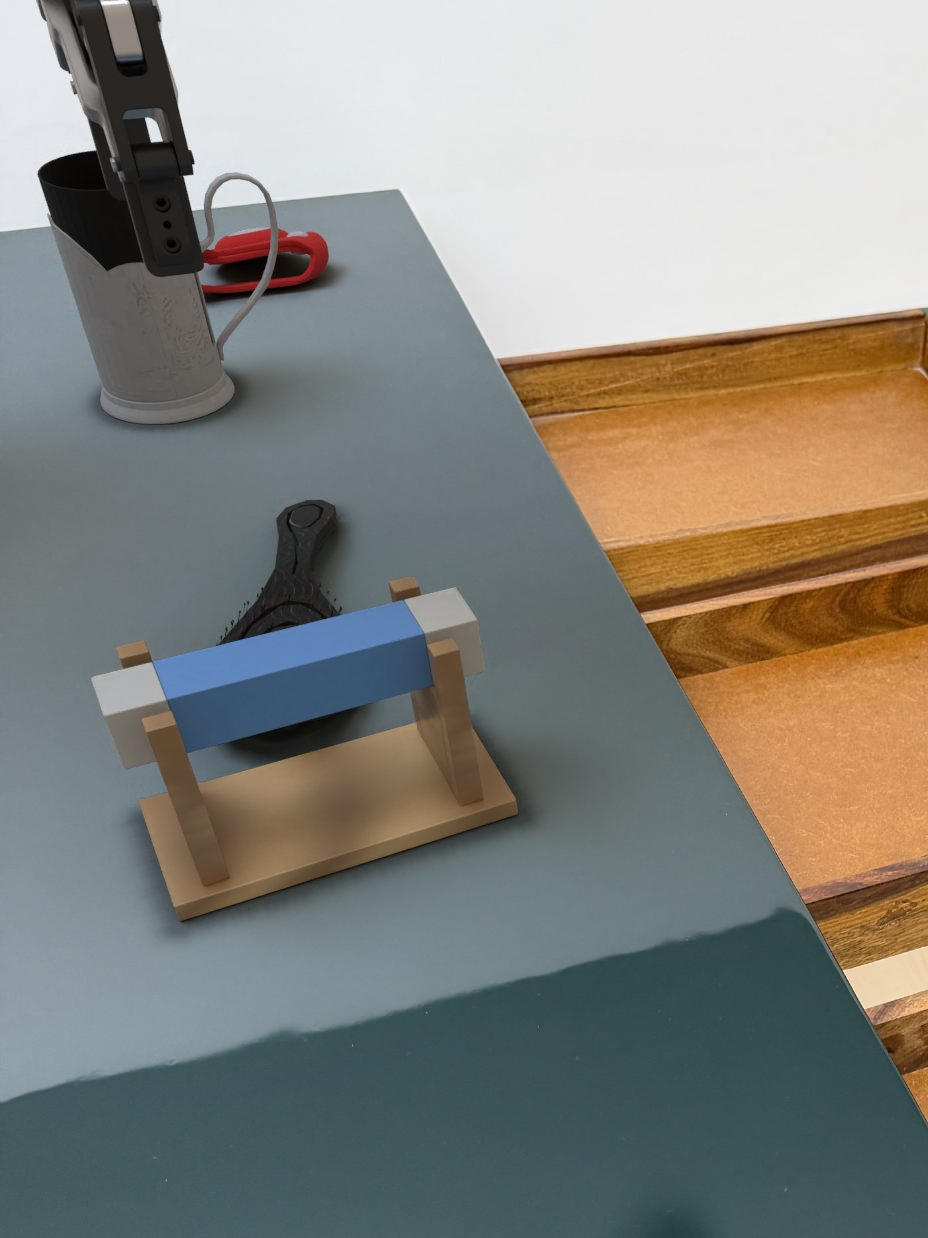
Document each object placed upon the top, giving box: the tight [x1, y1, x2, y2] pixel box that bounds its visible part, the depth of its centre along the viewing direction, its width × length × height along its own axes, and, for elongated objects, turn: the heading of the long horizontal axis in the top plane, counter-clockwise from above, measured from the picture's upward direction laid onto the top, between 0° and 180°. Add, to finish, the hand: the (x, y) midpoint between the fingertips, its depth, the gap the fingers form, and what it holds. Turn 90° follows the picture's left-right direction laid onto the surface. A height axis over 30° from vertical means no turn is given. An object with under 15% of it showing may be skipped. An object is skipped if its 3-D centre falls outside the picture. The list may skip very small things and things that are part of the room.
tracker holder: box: [199, 226, 330, 294], centre depth 112 cm, size 12×4×10 cm
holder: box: [115, 575, 519, 922], centre depth 65 cm, size 16×8×10 cm, turn 120°
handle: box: [90, 586, 486, 770], centre depth 63 cm, size 16×3×3 cm, turn 120°
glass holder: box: [37, 149, 279, 425], centre depth 95 cm, size 9×14×15 cm, turn 123°
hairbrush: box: [215, 499, 343, 727], centre depth 79 cm, size 8×4×25 cm
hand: (156, 232), depth 60 cm, fingers open, 8 cm apart
